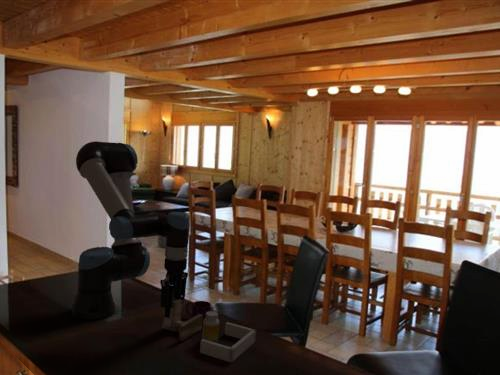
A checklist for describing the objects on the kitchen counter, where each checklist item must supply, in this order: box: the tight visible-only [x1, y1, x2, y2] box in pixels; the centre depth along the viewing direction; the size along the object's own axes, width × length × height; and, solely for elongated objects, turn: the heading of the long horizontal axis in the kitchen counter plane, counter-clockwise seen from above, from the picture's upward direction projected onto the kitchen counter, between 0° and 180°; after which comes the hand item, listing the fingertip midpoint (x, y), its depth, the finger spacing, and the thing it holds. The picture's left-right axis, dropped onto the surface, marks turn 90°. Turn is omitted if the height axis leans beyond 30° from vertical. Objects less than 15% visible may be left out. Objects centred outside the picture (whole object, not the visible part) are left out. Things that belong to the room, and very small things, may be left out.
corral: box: [199, 321, 257, 364], centre depth 141 cm, size 11×17×4 cm, turn 155°
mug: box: [185, 300, 212, 325], centre depth 160 cm, size 7×10×7 cm
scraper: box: [161, 297, 203, 342], centre depth 149 cm, size 11×12×10 cm
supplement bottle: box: [201, 311, 220, 343], centre depth 144 cm, size 5×5×10 cm
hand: (171, 323), depth 150 cm, fingers closed on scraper, 3 cm apart
